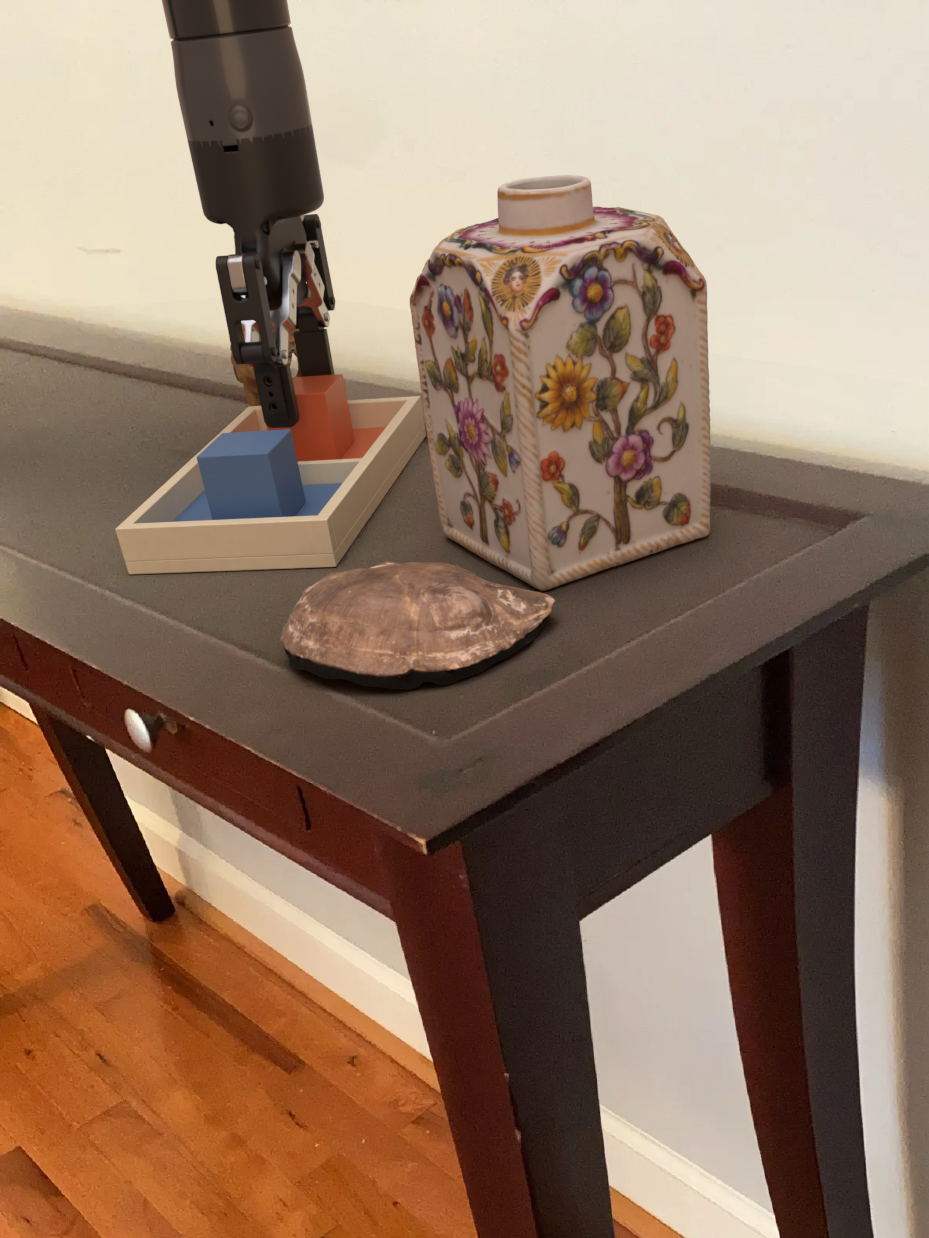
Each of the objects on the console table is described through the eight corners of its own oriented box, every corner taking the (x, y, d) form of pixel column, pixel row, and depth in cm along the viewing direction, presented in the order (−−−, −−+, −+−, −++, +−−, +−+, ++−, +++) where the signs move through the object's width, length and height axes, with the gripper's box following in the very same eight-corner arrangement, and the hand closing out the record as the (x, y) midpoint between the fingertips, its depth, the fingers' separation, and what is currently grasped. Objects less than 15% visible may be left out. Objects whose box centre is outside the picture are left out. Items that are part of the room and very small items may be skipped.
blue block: (214, 531, 77) (195, 456, 75) (239, 505, 81) (221, 432, 78) (284, 528, 77) (268, 452, 74) (306, 501, 80) (291, 428, 77)
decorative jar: (437, 538, 76) (386, 192, 65) (601, 487, 80) (579, 154, 69) (540, 598, 67) (502, 212, 56) (718, 538, 71) (715, 167, 60)
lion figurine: (313, 439, 94) (287, 307, 89) (242, 447, 94) (211, 316, 89) (328, 385, 106) (306, 266, 100) (265, 393, 106) (240, 274, 101)
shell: (436, 717, 58) (424, 644, 56) (237, 668, 64) (219, 600, 62) (572, 615, 65) (566, 547, 63) (382, 580, 71) (370, 516, 69)
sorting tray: (128, 574, 76) (114, 528, 74) (257, 445, 94) (248, 406, 93) (336, 567, 74) (326, 519, 72) (426, 435, 92) (420, 395, 90)
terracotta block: (274, 465, 87) (259, 397, 84) (294, 444, 90) (280, 377, 87) (337, 462, 86) (324, 392, 83) (355, 441, 89) (343, 373, 87)
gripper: (229, 116, 82) (282, 379, 92) (144, 147, 71) (213, 442, 81) (340, 105, 81) (381, 374, 91) (271, 135, 70) (326, 437, 80)
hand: (302, 406), depth 86 cm, fingers open, 8 cm apart
